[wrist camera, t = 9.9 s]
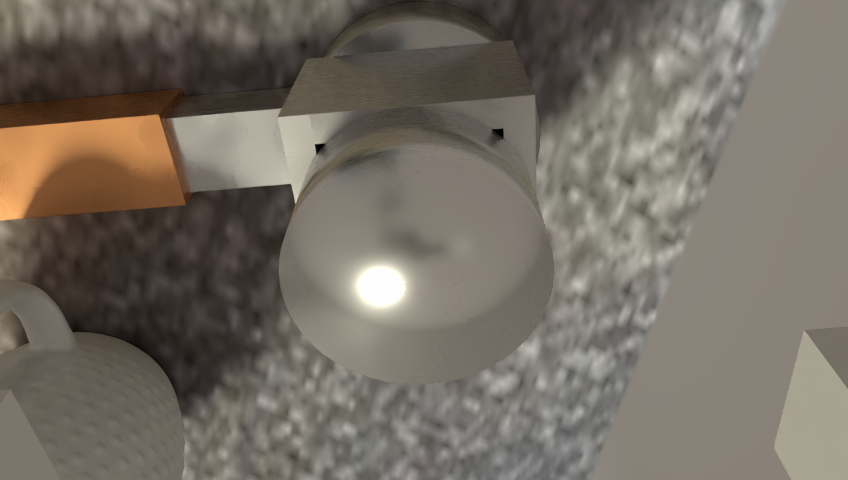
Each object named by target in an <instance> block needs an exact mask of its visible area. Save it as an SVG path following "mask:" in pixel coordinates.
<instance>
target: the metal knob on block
mask: <svg viewBox="0 0 848 480" xmlns="http://www.w3.org/2000/svg"><path fill="white" fill-rule="evenodd" d="M277 118H278V123H279V127H280V132H281V137H282V142H283V147H284V151H285V156H286V161H287V166H288V170H289V175H290V180H291V185H292V189H293V194H294V199H295V207H294V210H293V213H292V216H291V219H290V222H289V225H288V228H287V231H286V234H285V237H284V240H283V243H282V246H281V252H280V258H279V281H280V287H281V293H282V296H283V299H284V302H285V305H286V307H287V309H288V311H289V314H290V316H291V318H292V320H293V321H294V323H295V324H296V325H297V327H298V328H299V330H300V331H301V333H302V334H303V335H304V336H305V337H306V338H307V339H308V341H309V342H310V343H311V344H312V345H313V346H315V347H316V348H317V349H318V350H319V351H320V352H321V353H323V354H324V355H326V356H327V357H328V358H330V359H331V360H333V361H334V362H336V363H338V364H340V365H341V366H343V367H345V368H347V369H349V370H351V371H354V372H356V373H359V374H361V375H364V376H367V377H370V378H374V379H377V380H381V381H387V382H392V383H401V384H433V383H442V382H448V381H452V380H457V379H461V378H464V377H467V376H470V375H473V374H476V373H478V372H480V371H483V370H485V369H487V368H489V367H491V366H493V365H494V364H496V363H498V362H499V361H501V360H503V359H504V358H506V357H507V356H508V355H510V354H511V353H512V352H513V351H515V350H516V349H517V348H518V347H519V346H520V345H521V344H522V343H523V342H524V341H525V340H526V339H527V338H528V337H529V336H530V334H531V333H532V332H533V331H534V329H535V328H536V327H537V325H538V323H539V321H540V320H541V318H542V316H543V315H544V312H545V310H546V308H547V305H548V303H549V300H550V296H551V292H552V288H553V280H554V261H553V254H552V249H551V245H550V241H549V238H548V234H547V231H546V228H545V224H544V221H543V218H542V214H541V211H540V208H539V205H538V201H537V198H536V127H535V93H534V91H533V88H532V86H531V83H530V81H529V79H528V76H527V74H526V71H525V69H524V66H523V64H522V62H521V59H520V57H519V54H518V52H517V49H516V47H515V45H514V42H513V40H510V41H499V42H488V43H477V44H466V45H454V46H443V47H432V48H421V49H410V50H399V51H388V52H377V53H366V54H355V55H343V56H332V57H321V58H310V59H306V61H305V63H304V65H303V67H302V69H301V71H300V73H299V75H298V77H297V79H296V81H295V83H294V85H293V87H292V89H291V91H290V93H289V95H288V97H287V99H286V101H285V103H284V105H283V107H282V109H281V111H280V113H279V115H278V117H277Z"/></svg>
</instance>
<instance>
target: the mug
mask: <svg viewBox="0 0 848 480" xmlns="http://www.w3.org/2000/svg"><path fill="white" fill-rule="evenodd" d="M7 308H10V309H11V310H12V311H13V312H14V313H15V314H16V315H17V317H18V318H19V319H20V321H21V323H22V325H23V327H24V329H25V332H26V335H27V338H28V341H29V343H27V344H25V345H22V346H19V347H17V348H15V349H13V350H9V351H6V352H5V353H4V354H2V355H0V390H9V389H10V390H11V392H12V393H13V395H14V397H15V399H16V401H17V402H18V404H19V406H20V408H21V409H22V411H23V413H24V415H25V417H26V418H27V420H28V422H29V424H30V426H31V427H32V429H33V431H34V433H35V434H36V436H37V438H38V440H39V442H40V443H41V445H42V447H43V449H44V451H45V452H46V454H47V456H48V458H49V459H50V461H51V463H52V465H53V467H54V468H55V470H56V472H57V474H58V476H59V477H60V479H61V480H182V474H183V470H184V456H183V453H184V445H185V440H184V435H183V431H184V430H183V429H184V424H183V421H182V418H181V412H180V408H179V404H178V401H177V397H176V394H175V392H174V389H173V387H172V384H171V383H170V381H169V379H168V377H167V375H166V374H165V373H164V371H163V370H162V369H161V367H160V366H159V365H158V364H157V363H156V362H155V361H154V360H153V359H152V358H151V357H150V356H149V355H148V354H146V353H145V352H143V351H141V350H140V349H138V348H137V347H135V346H134V345H132V344H130V343H128V342H125V341H123V340H121V339H118V338H115V337H111V336H107V335H103V334H98V333H90V332H72V330H71V328H70V327H69V325H68V323H67V321H66V319H65V317H64V315H63V313H62V311H61V310H60V308H59V307H58V306H57V305H56V303H55V302H54V301H53V300H52V299H51V298H50V297H49V296H48V294H46V293H45V292H44V291H43V290H41V289H40V288H38V287H36V286H34V285H31V284H28V283H25V282H20V281H14V280H0V314H1V313H2V312H4V311H5V310H6V309H7Z"/></svg>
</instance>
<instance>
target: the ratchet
mask: <svg viewBox="0 0 848 480" xmlns="http://www.w3.org/2000/svg"><path fill="white" fill-rule="evenodd" d="M499 41H505V40H504V39H503V38H502V37H501V36H500V35H499V34H498V33H497V32H496V31H495V30H494V29H493V28H492V27H491V26H490V25H488V24H487V23H486V22H484V21H483V20H482V19H480V18H478V17H476V16H475V15H473V14H471V13H469V12H467V11H465V10H462V9H460V8H457V7H455V6H451V5H447V4H443V3H438V2H429V1H408V2H402V3H396V4H392V5H388V6H385V7H382V8H379V9H377V10H374V11H372V12H370V13H368V14H366V15H364V16H363V17H361V18H360V19H358V20H356V21H355V22H353V23H352V24H351V25H350V26H349V27H347V28H346V29H345V30H344V31H343V32H342V33H341V34H340V35H339V36H338V37H337V38H336V39H335V41H334V42H333V43H332V44H331V46H330V47H329V49H328V50H327V52H326V53H325V55H324V57H332V56H343V55H355V54H366V53H377V52H388V51H399V50H410V49H421V48H432V47H443V46H454V45H466V44H477V43H488V42H499ZM291 89H292V87H287V88H276V89H265V90H254V91H243V92H231V93H220V94H209V95H198V96H187V97H184V94H183V90H182V89H174V90H163V91H152V92H141V93H130V94H118V95H107V96H96V97H85V98H74V99H63V100H52V101H41V102H30V103H19V104H7V105H0V220H10V219H23V218H35V217H47V216H59V215H71V214H84V213H96V212H108V211H120V210H132V209H144V208H157V207H169V206H181V205H186V204H187V203H188V201H189V200H190V198H191V196H192V195H193V193H194V192H199V191H211V190H223V189H235V188H247V187H259V186H271V185H283V184H291V180H290V175H289V170H288V166H287V161H286V156H285V151H284V147H283V142H282V137H281V132H280V127H279V123H278V118H277V117H278V115H279V113H280V111H281V109H282V107H283V105H284V103H285V101H286V99H287V97H288V95H289V93H290V91H291ZM535 127H536V163H537V159H538V154H539V147H540V124H539V117H538V113H537V108H536V104H535Z"/></svg>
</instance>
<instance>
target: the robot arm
mask: <svg viewBox="0 0 848 480" xmlns="http://www.w3.org/2000/svg"><path fill="white" fill-rule="evenodd" d="M774 449H775V450H776V452H777V454H778V456H779V457H780V459H781V461H782V463H783V465H784V467H785V468H786V470H787V472H788V474H789V475H790V477H791V479H792V480H848V327H838V328H824V329H811V330H804V333H803V337H802V341H801V345H800V348H799V352H798V356H797V360H796V364H795V368H794V371H793V375H792V379H791V383H790V387H789V391H788V395H787V398H786V402H785V406H784V410H783V414H782V418H781V422H780V426H779V429H778V433H777V437H776V441H775V445H774ZM0 480H61V479H60V477H59V476H58V474H57V472H56V470H55V468H54V467H53V465H52V463H51V461H50V459H49V458H48V456H47V454H46V452H45V451H44V449H43V447H42V445H41V443H40V442H39V440H38V438H37V436H36V434H35V433H34V431H33V429H32V427H31V426H30V424H29V422H28V420H27V418H26V417H25V415H24V413H23V411H22V409H21V408H20V406H19V404H18V402H17V401H16V399H15V397H14V395H13V393H12V392H11V390H10V389H9V390H0Z"/></svg>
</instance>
